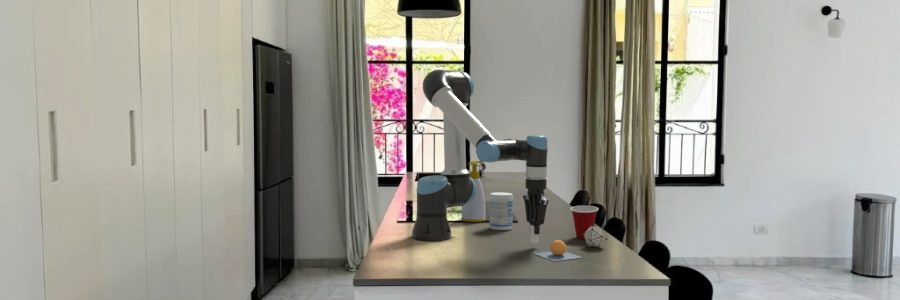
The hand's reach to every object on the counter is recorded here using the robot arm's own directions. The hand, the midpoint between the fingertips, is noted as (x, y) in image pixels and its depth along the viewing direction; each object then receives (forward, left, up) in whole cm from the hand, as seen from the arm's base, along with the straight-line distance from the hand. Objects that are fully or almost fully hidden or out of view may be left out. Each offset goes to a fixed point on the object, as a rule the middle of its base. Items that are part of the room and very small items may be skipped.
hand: (534, 242), depth 246 cm
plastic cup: (-7, +28, -2) cm, 29 cm away
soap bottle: (-57, +7, -2) cm, 57 cm away
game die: (+8, +21, -2) cm, 23 cm away
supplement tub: (-36, +8, -2) cm, 37 cm away
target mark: (+14, 0, -2) cm, 14 cm away
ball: (+14, 0, +1) cm, 14 cm away
